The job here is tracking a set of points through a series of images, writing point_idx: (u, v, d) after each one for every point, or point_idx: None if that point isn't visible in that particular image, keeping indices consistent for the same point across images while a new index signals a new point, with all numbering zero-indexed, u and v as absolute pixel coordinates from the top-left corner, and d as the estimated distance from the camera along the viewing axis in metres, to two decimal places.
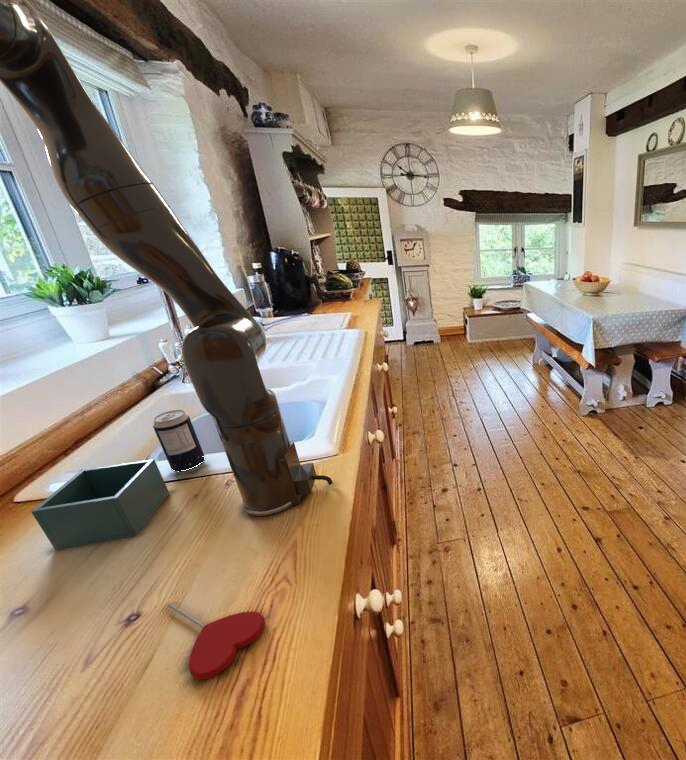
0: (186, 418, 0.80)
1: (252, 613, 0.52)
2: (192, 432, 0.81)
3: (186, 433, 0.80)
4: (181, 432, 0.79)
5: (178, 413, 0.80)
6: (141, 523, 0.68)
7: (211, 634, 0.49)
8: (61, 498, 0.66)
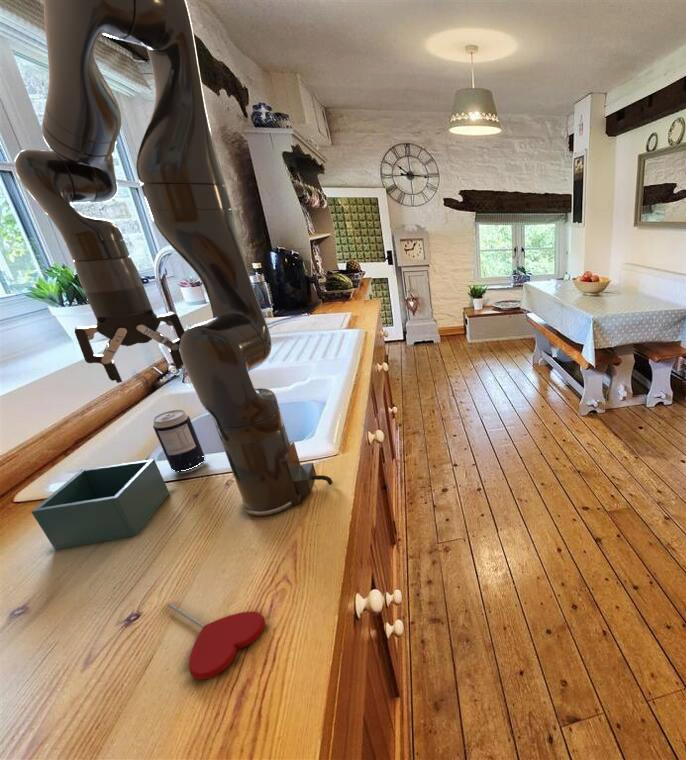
0: (186, 418, 0.80)
1: (252, 613, 0.52)
2: (192, 432, 0.81)
3: (186, 433, 0.80)
4: (181, 432, 0.79)
5: (178, 413, 0.80)
6: (141, 523, 0.68)
7: (211, 634, 0.49)
8: (61, 498, 0.66)
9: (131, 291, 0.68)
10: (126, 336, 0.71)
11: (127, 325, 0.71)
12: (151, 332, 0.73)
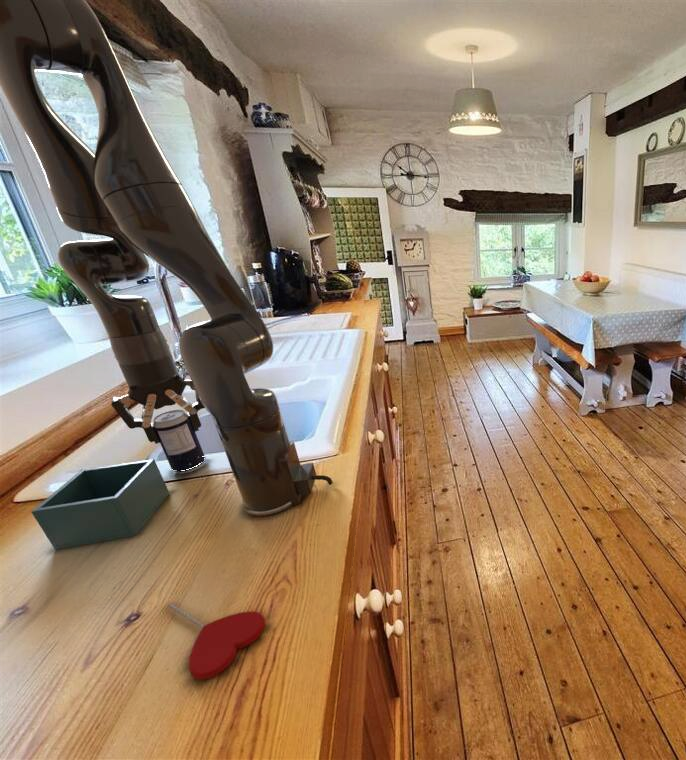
0: (186, 418, 0.80)
1: (252, 613, 0.52)
2: (192, 432, 0.81)
3: (186, 433, 0.80)
4: (181, 432, 0.79)
5: (178, 413, 0.80)
6: (141, 523, 0.68)
7: (211, 634, 0.49)
8: (61, 498, 0.66)
9: (160, 361, 0.73)
10: (155, 400, 0.76)
11: (156, 390, 0.76)
12: (178, 395, 0.78)
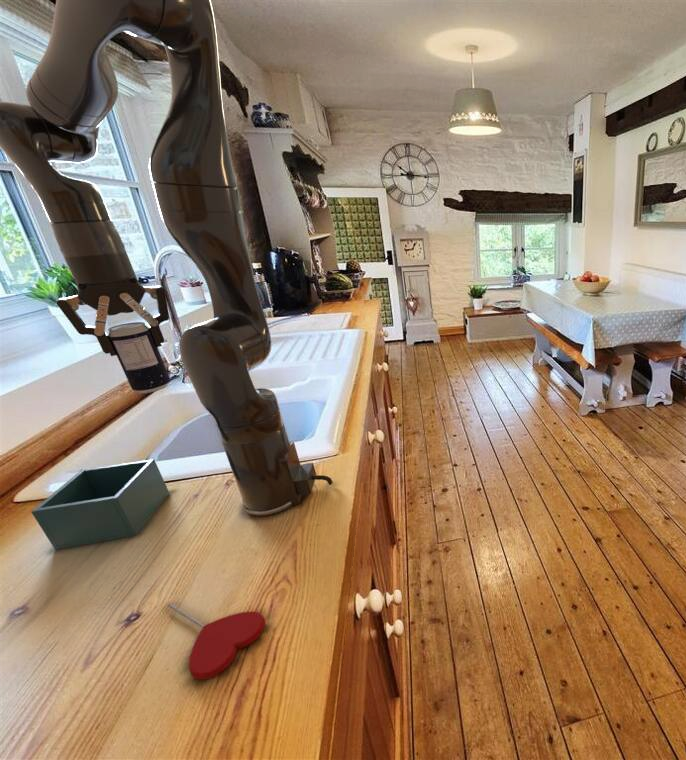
0: (146, 330, 0.72)
1: (252, 613, 0.52)
2: (153, 346, 0.73)
3: (147, 346, 0.72)
4: (139, 344, 0.71)
5: (137, 324, 0.72)
6: (141, 523, 0.68)
7: (211, 634, 0.49)
8: (61, 498, 0.66)
9: (112, 257, 0.65)
10: (109, 305, 0.68)
11: (110, 293, 0.68)
12: (135, 301, 0.70)
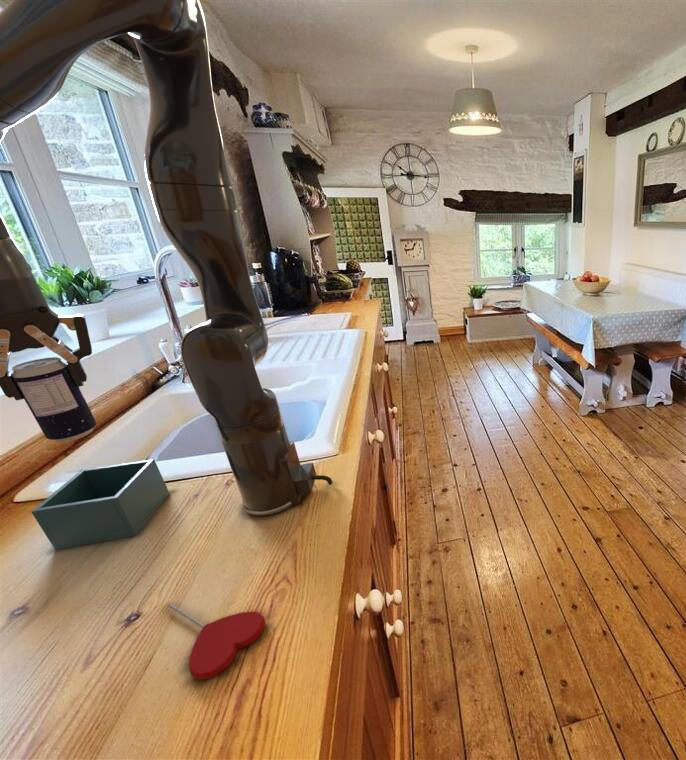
0: (61, 368, 0.60)
1: (252, 613, 0.52)
2: (71, 387, 0.61)
3: (62, 387, 0.60)
4: (52, 385, 0.59)
5: (51, 361, 0.60)
6: (141, 523, 0.68)
7: (211, 634, 0.49)
8: (61, 498, 0.66)
9: (11, 283, 0.53)
10: (11, 340, 0.56)
11: (12, 326, 0.56)
12: (46, 334, 0.58)
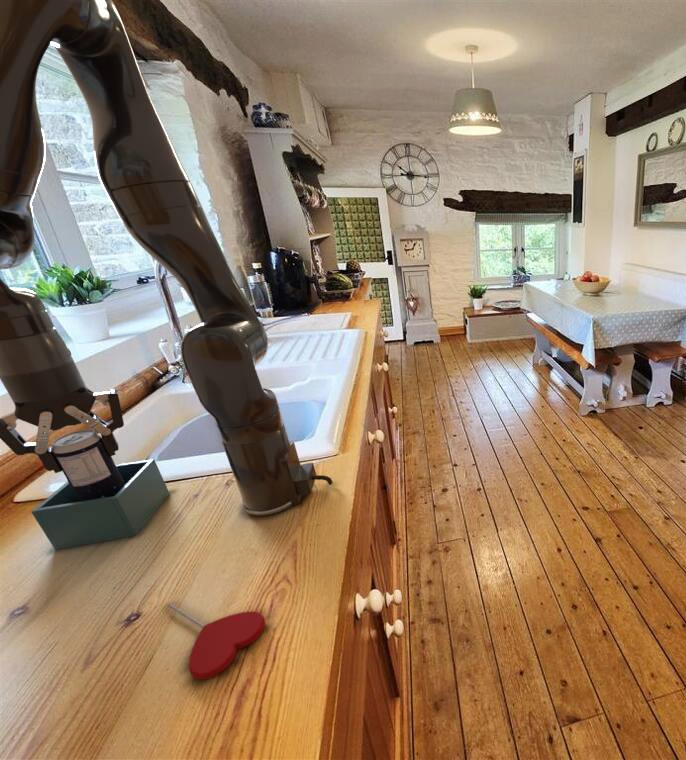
0: (96, 441, 0.64)
1: (252, 613, 0.52)
2: (105, 457, 0.66)
3: (97, 458, 0.64)
4: (88, 458, 0.63)
5: (87, 434, 0.65)
6: (141, 523, 0.68)
7: (211, 634, 0.49)
8: (61, 498, 0.66)
9: (54, 371, 0.58)
10: (52, 419, 0.61)
11: (53, 407, 0.60)
12: (83, 412, 0.62)
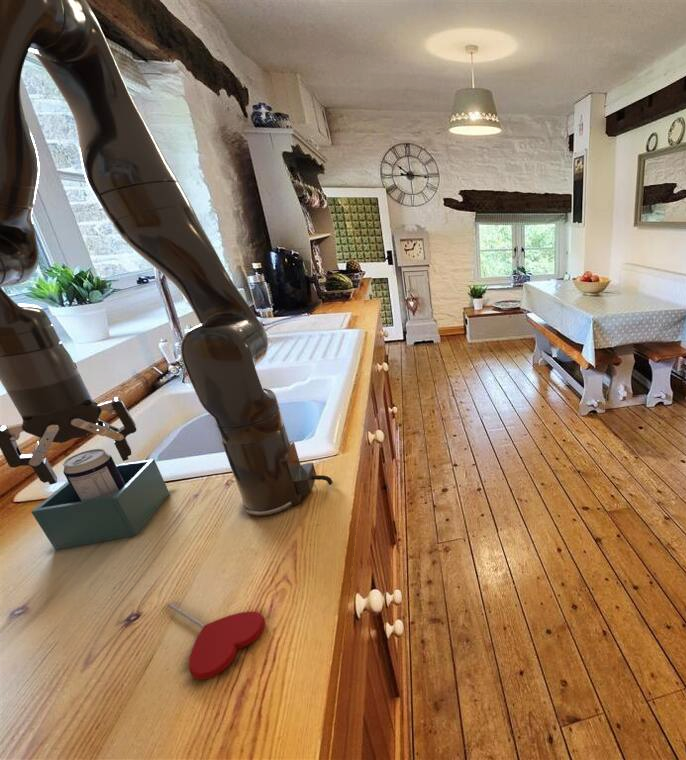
0: (106, 460, 0.66)
1: (252, 613, 0.52)
2: (115, 476, 0.67)
3: (107, 477, 0.66)
4: (98, 478, 0.65)
5: (97, 453, 0.66)
6: (141, 523, 0.68)
7: (211, 634, 0.49)
8: (61, 498, 0.66)
9: (61, 385, 0.59)
10: (59, 432, 0.62)
11: (60, 420, 0.61)
12: (89, 425, 0.63)
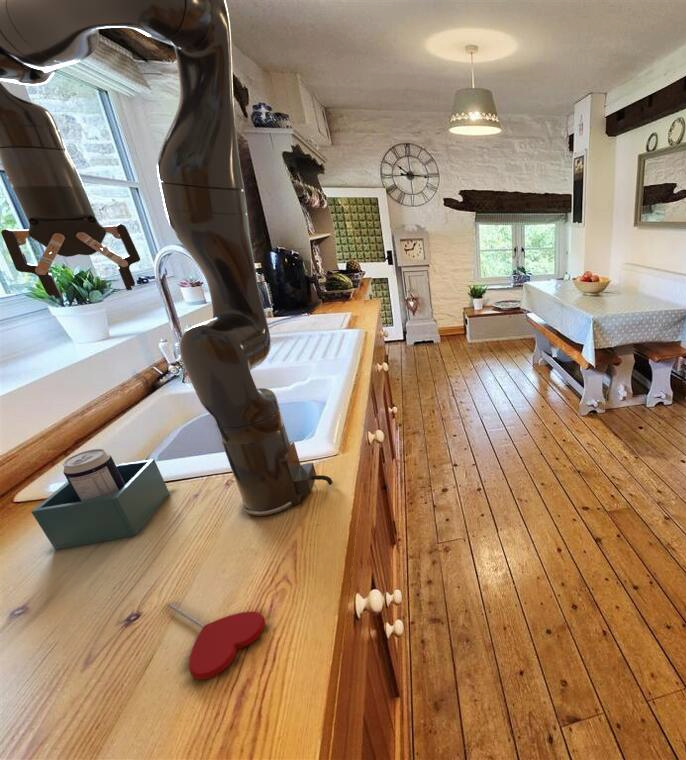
0: (106, 460, 0.66)
1: (252, 613, 0.52)
2: (115, 476, 0.67)
3: (107, 478, 0.66)
4: (98, 478, 0.65)
5: (97, 453, 0.66)
6: (141, 523, 0.68)
7: (211, 634, 0.49)
8: (61, 498, 0.66)
9: (67, 190, 0.60)
10: (65, 245, 0.63)
11: (65, 232, 0.62)
12: (94, 242, 0.64)
